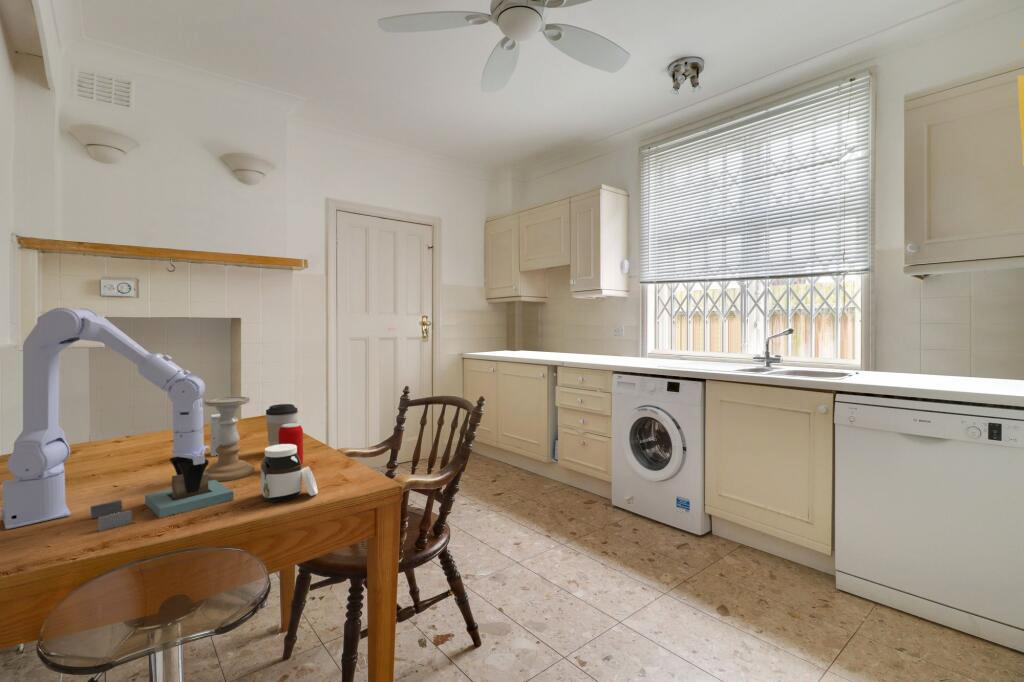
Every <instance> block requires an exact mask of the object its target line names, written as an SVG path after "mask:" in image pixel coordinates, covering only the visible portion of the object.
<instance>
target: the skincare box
mask: <svg viewBox="0 0 1024 682" xmlns="http://www.w3.org/2000/svg"><path fill="white" fill-rule="evenodd" d="M219 418H220V413H215V414H210V457H214V456H215V457H216V455H217V456H219V455H218V454H217V453H216V452H215V450H216V448H217V447H218V446H219V444H217V442H216V438H217V435H218V431H219V424H217V420H218V419H219Z"/></svg>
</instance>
